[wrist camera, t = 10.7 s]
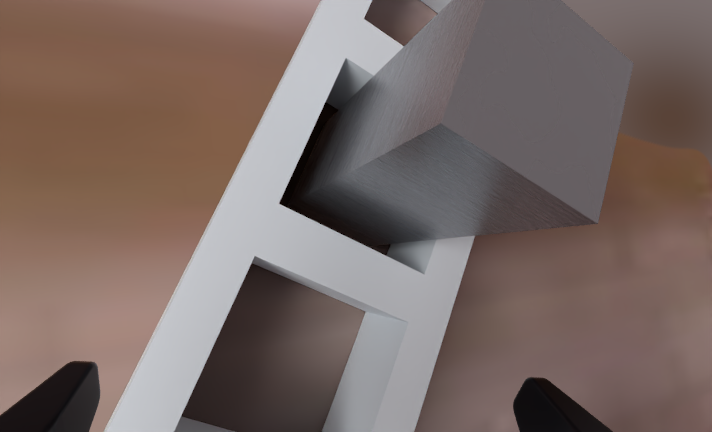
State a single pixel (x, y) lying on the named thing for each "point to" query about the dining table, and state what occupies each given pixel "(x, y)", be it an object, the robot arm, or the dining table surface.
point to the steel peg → (474, 129)
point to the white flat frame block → (306, 257)
